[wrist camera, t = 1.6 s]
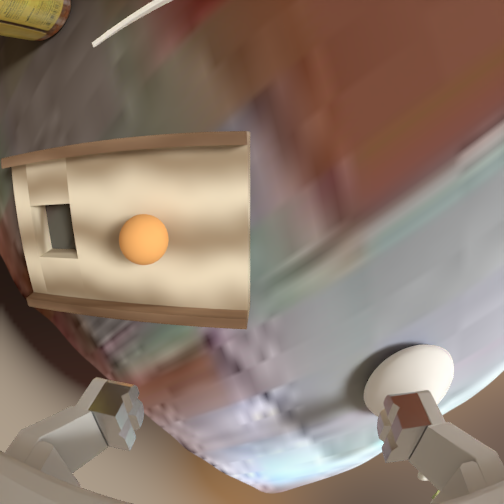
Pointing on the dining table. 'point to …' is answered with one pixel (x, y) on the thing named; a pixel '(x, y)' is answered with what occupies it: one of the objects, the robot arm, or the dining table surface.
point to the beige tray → (134, 203)
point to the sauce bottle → (33, 18)
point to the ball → (143, 239)
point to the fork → (130, 19)
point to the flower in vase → (410, 377)
